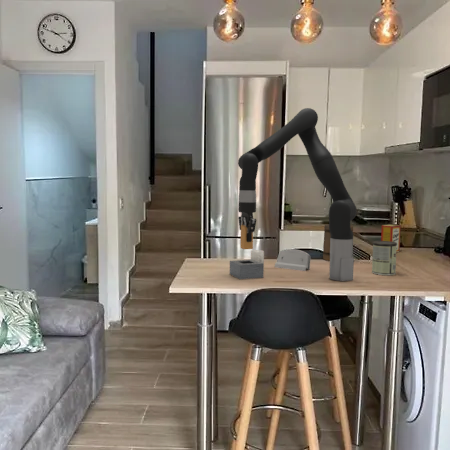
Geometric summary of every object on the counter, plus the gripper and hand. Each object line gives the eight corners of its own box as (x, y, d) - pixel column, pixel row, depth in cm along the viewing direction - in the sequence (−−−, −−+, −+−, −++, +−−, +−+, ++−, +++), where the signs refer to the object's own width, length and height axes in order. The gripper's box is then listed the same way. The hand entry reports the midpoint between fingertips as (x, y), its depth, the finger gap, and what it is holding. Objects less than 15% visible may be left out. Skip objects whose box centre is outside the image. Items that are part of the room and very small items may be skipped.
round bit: (265, 271, 216) (266, 251, 215) (253, 272, 214) (254, 252, 213) (260, 268, 222) (260, 249, 221) (248, 269, 220) (248, 250, 219)
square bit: (252, 248, 203) (253, 225, 202) (244, 249, 201) (244, 225, 200) (249, 247, 207) (249, 224, 206) (240, 248, 205) (240, 225, 204)
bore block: (263, 277, 202) (263, 263, 201) (239, 279, 198) (239, 265, 197) (252, 272, 212) (252, 259, 212) (229, 274, 208) (229, 260, 207)
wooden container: (355, 262, 243) (357, 219, 241) (327, 262, 242) (328, 219, 240) (346, 257, 257) (348, 216, 255) (319, 257, 257) (321, 216, 255)
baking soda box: (390, 253, 273) (392, 225, 272) (380, 251, 278) (381, 224, 277) (399, 251, 279) (400, 224, 278) (389, 250, 284) (390, 223, 283)
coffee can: (371, 270, 220) (372, 240, 219) (395, 271, 217) (396, 241, 216) (371, 274, 210) (372, 243, 209) (396, 276, 207) (397, 244, 206)
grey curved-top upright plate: (273, 267, 227) (277, 246, 229) (278, 269, 230) (281, 249, 232) (305, 271, 217) (309, 249, 219) (309, 273, 221) (313, 252, 223)
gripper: (262, 201, 197) (261, 243, 199) (248, 200, 210) (247, 238, 212) (246, 202, 194) (245, 243, 196) (232, 200, 207) (232, 239, 209)
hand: (246, 240), depth 204 cm, fingers closed on square bit, 4 cm apart
